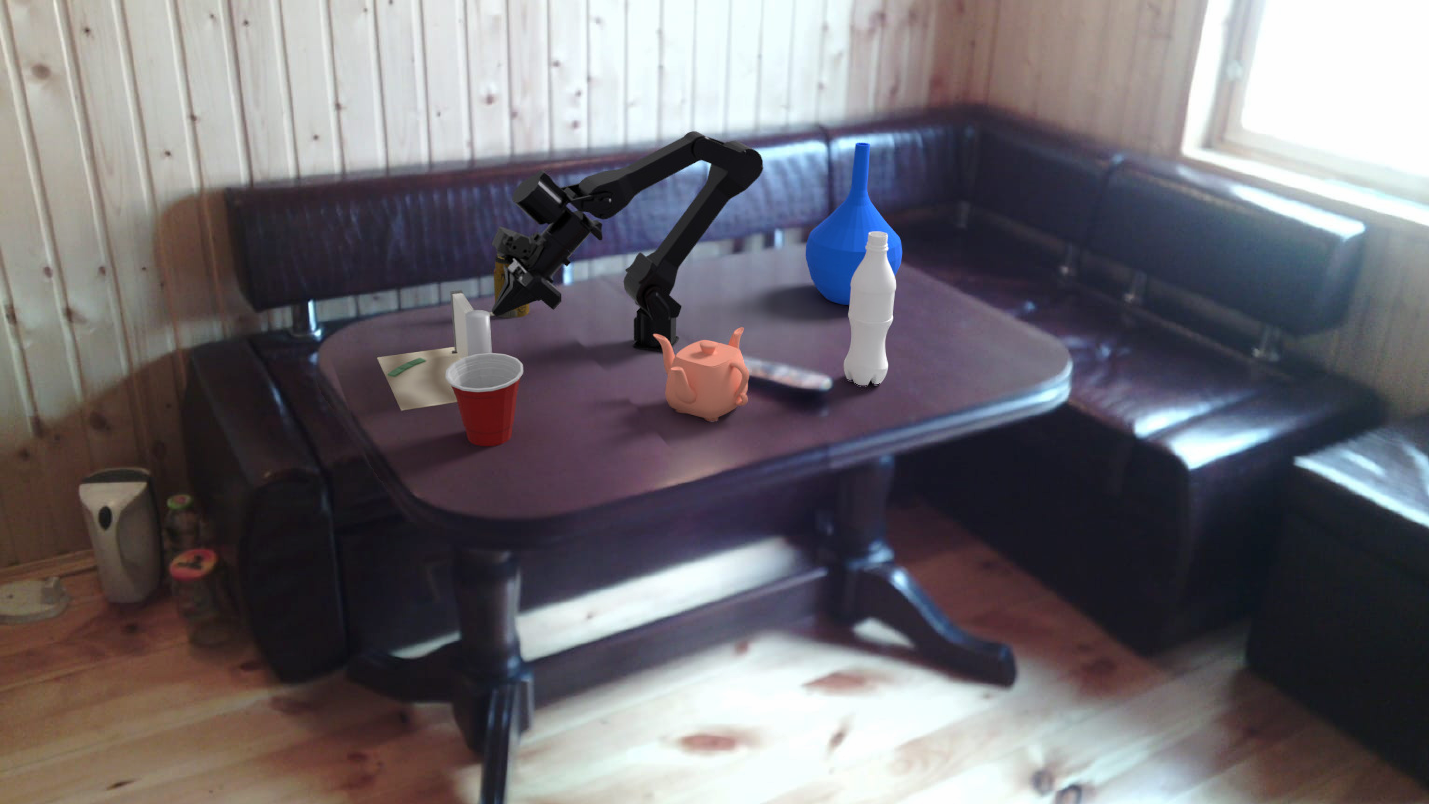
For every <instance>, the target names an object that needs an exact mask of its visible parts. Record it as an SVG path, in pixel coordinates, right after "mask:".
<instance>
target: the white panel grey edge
mask: <svg viewBox="0 0 1429 804" xmlns="http://www.w3.org/2000/svg"><path fill="white" fill-rule="evenodd" d="M449 292H450V305H451V306H450V307H451V318H452V319H451V320H452V332H453V333H452V335H453V345H454V346H453V347H454V348H455V351H456V352H457V353H458V354H459V356H460V358H461V359H462V358H465V357H468V356H472V355H476V354H485V353H493V351H492V350H493V349H492V335H491V334H492V333H491V316H490V314H489V311H487V310H482V309H474V308H473V306H472V305H471V303H470V301H468V299H467V298H466V296H465V294H463V293H464V292H463V290H460V289H459V290H453V291H452V290H450V291H449Z"/></svg>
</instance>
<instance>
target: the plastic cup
mask: <svg viewBox="0 0 1429 804" xmlns="http://www.w3.org/2000/svg"><path fill="white" fill-rule="evenodd" d="M522 375H524V364H523V363H522V362H521V361H520V360H519V359H518V358H517V357H514V356H511V355H508V354H505V353H495V352H492V353H485V354H476V355H472V356H468V357H465V358H462V359H460V360H458V361H456V362H454V363H452V364H451V366H450V367H449V368H448V369H447V370H446V380H447V381H448V382H449V383H450V384H451V386H452V389H453V391H454V394H455V395H456V399H457V402H456V403H457V405H458V409H459V413H460V418H461V420H462V425H463V427H464V429H465V433H466V436H467V440H468V441H469V442H470V443H471V444H473V445H476V446H481V447H495V446H499V445H503V444H505V443H507V442H509V440H510V439H511V438H512V434H513V425H514V422H515V414H516V407H517V406H516V405H517V397H518V391H519V385H520V380H521V377H522Z"/></svg>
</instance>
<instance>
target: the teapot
mask: <svg viewBox="0 0 1429 804" xmlns="http://www.w3.org/2000/svg"><path fill="white" fill-rule="evenodd" d="M744 330H745V328H744V327H742V326H741V327H739V328H737V329H735V330H734V331H733V332H732V334H731V336H730V339H729V341H728V344H725V343H720V342H717V341H713V340H708V339H701V340H698V341H695V342H693V343H691V344H689V345H686V346H685V347H683V348H682V349H680V350H679V351H678V352H677V353H676V354H675V352H674V350H673V349H674V348H673V347H672V346H671V344H670V342H669V341H668V339H667V338H665V337H664V336H662V335H659V334H653V336H654V337H655V338H656V339H657V340H658V341H659V342H660V344H661V346H662V350H663V352H662V354H663V355H662V358H663V367H664V371H665V372H666V374H667V379H666V383H665V389H664V390H665V393H664V394H665V395H664V396H665V399H666V401H667V403H668V405H669V407H670V408H671V409H674V410H675V412H677V413H679V414H688V415H691V416H692V415H693V416H695V417H700V418H703V419H704V420H705V421H706V420H707V421H706V422H708V421H716V420H718V418H719V417H722V416H724V415H726V414H728V413H729V412H731V411H733V410H735V409H736V408H737V407H738V406H739V407H742V406H746V405H747V403H748V401H749V399H748V395H747V392H748V388H749V379H750V371H749V368H748V367H747V366H746V364H745V361H744V357H743V354H742V352H741V349H740V340H741V337H742V335H743V333H744ZM718 421H719V420H718ZM716 422H717V421H716Z"/></svg>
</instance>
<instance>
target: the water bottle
mask: <svg viewBox="0 0 1429 804" xmlns="http://www.w3.org/2000/svg"><path fill="white" fill-rule="evenodd" d="M887 238H888V234H887V233H884V232H879V231H873V232H870V233H869V235H868V242H867V245H866V247H865V248H866V250H867V251H866V255H865V257H864V259H863V260H862V262H861V263H860V265H859V266H858V268H857V269H856V271H855V273H854V275H853V277H852V280H851V295H850V305H848V306H849V309H848V312H847V317H848V318H849V319H848V320H849V324H850V332H851V335H850V336H851V337H850V339H851V340H850V345H849V349H848V352H847V355H846V357H845V359H844V361H843V371H844V374H845V377H846V380H847V379H849V380H851V379H853V381H852V382H853V383H854V384H855V383H856V384H858V385H867V386H868V385H869V384H870V382H871V384H873V383H874V384H879V383H880V384H881V383H882V382H883V381H884V379H885V378H886V376H887V374H888V369H889V362H888V359H887V354H886V338H887V334H888V332H889V328H890V327H891V325H892V323H893V320H894V316H893V312H894V303H895V302H894V301H895V294H896V293H895V292H896V289H897V281H896V275H895V276H894V274H893V271H892V269H891V267H890V264H889V262H888V259H887V251H888V247H887V246H888V244H887ZM849 380H848V381H849ZM856 384H855V385H856ZM880 384H879V385H880ZM858 385H857V386H858Z"/></svg>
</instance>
